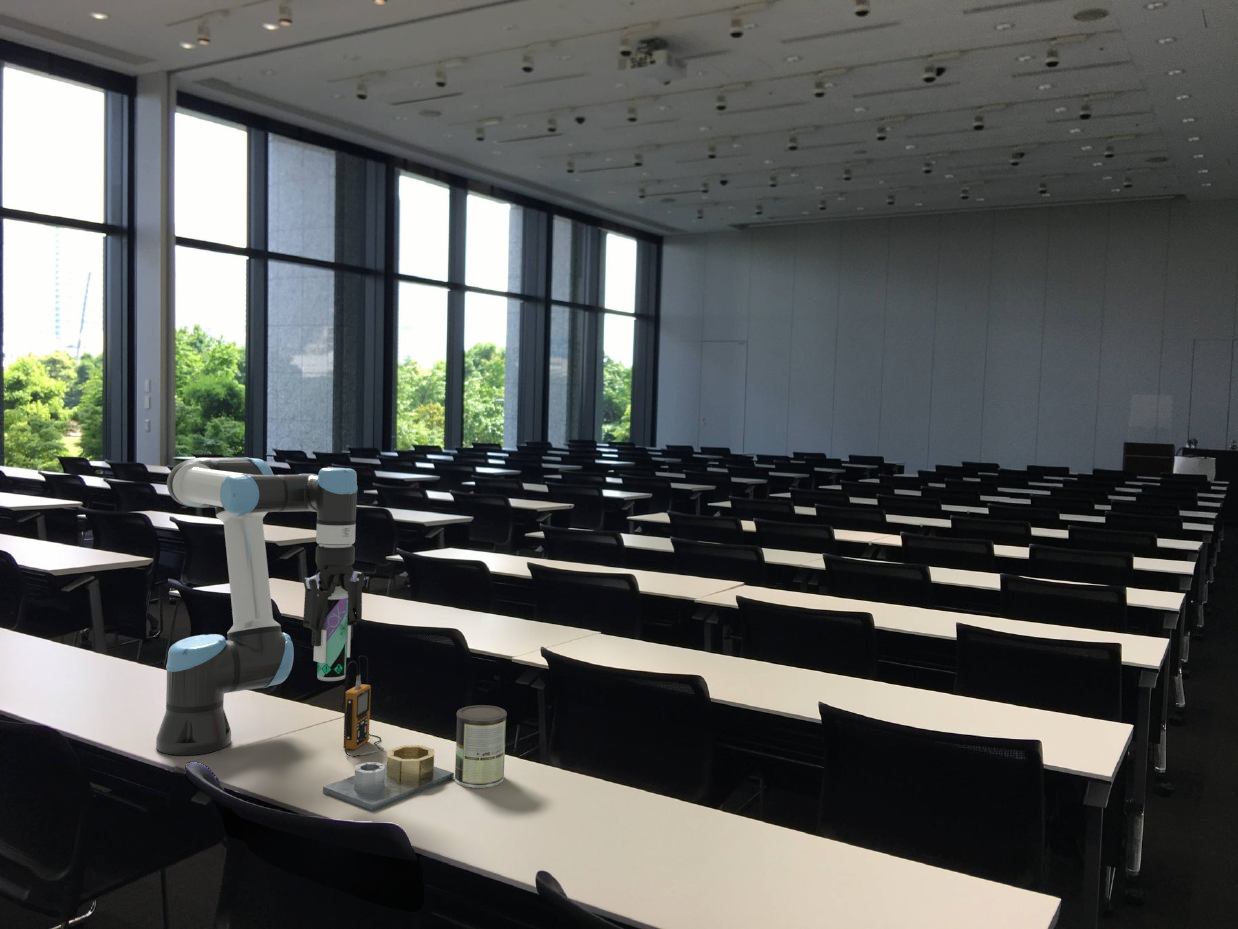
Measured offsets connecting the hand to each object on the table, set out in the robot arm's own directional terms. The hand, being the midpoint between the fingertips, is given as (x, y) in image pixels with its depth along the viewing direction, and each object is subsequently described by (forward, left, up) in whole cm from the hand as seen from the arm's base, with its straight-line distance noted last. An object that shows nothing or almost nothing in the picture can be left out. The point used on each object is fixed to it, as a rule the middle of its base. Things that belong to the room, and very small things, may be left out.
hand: (331, 658), depth 196 cm
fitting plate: (+12, +6, -25) cm, 28 cm away
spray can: (0, 0, -4) cm, 4 cm away
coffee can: (+23, +20, -25) cm, 39 cm away
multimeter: (-8, +19, -25) cm, 32 cm away
